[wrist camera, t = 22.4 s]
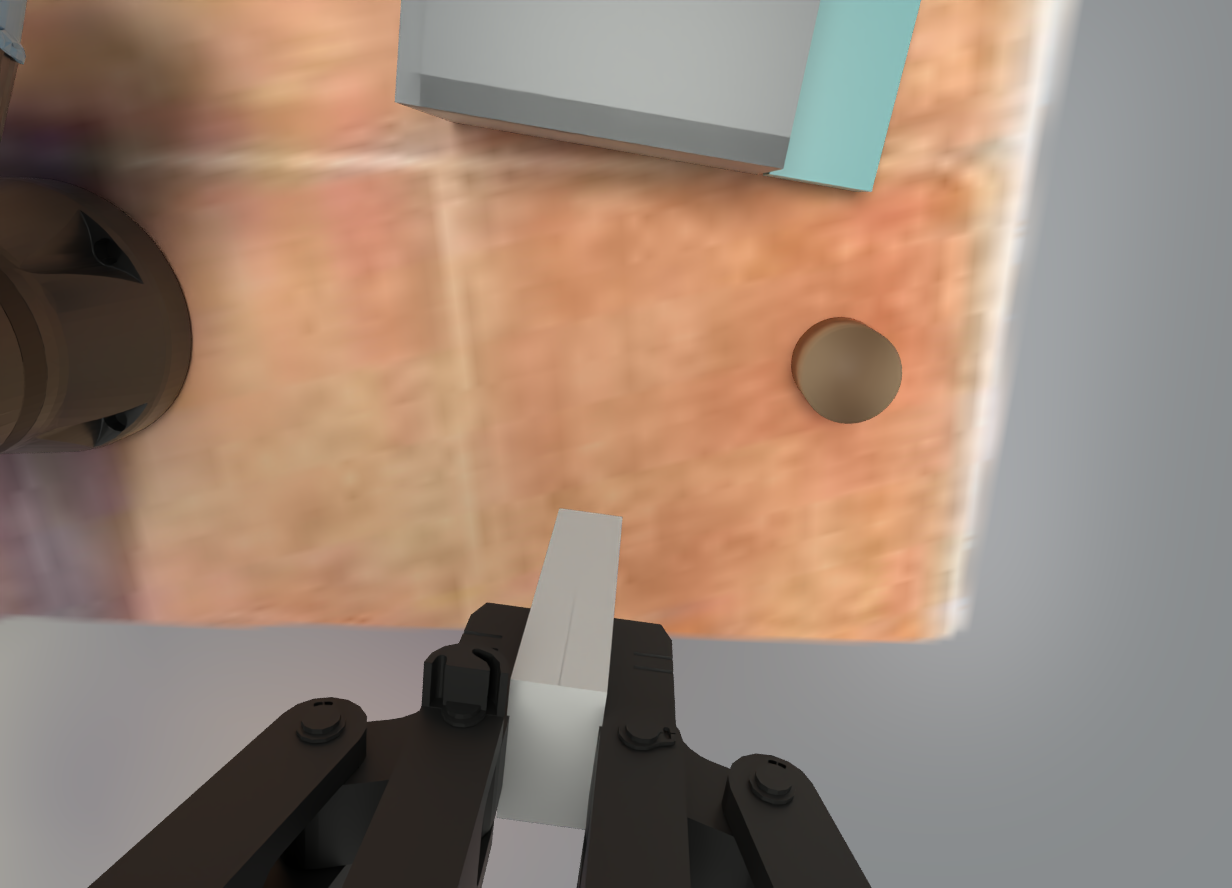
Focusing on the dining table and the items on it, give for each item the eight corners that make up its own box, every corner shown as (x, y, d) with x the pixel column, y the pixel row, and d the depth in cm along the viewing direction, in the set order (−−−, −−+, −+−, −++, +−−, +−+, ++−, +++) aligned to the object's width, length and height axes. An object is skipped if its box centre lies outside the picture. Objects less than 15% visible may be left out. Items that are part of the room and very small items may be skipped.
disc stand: (782, 397, 43) (792, 414, 39) (803, 310, 41) (815, 320, 38) (869, 412, 43) (886, 430, 39) (893, 325, 41) (914, 337, 38)
